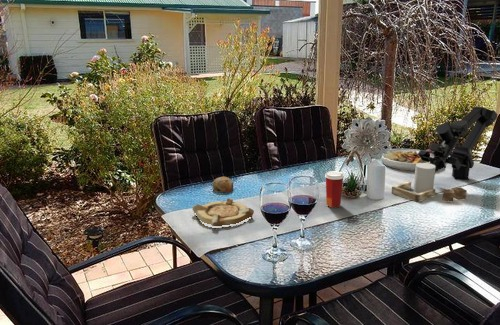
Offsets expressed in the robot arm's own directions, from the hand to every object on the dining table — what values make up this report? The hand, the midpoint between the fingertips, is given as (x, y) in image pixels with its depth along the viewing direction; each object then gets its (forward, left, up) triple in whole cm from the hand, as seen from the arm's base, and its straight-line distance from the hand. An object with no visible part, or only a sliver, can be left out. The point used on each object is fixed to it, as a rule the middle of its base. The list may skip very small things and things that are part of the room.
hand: (429, 174), depth 192 cm
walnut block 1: (-6, +13, -7) cm, 16 cm away
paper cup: (+42, +26, -7) cm, 50 cm away
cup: (+3, +3, -7) cm, 8 cm away
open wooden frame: (+7, +8, -7) cm, 13 cm away
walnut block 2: (-11, +10, -7) cm, 16 cm away
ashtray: (+85, +44, -8) cm, 96 cm away
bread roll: (+93, +12, -8) cm, 95 cm away
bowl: (+2, -40, -8) cm, 41 cm away
